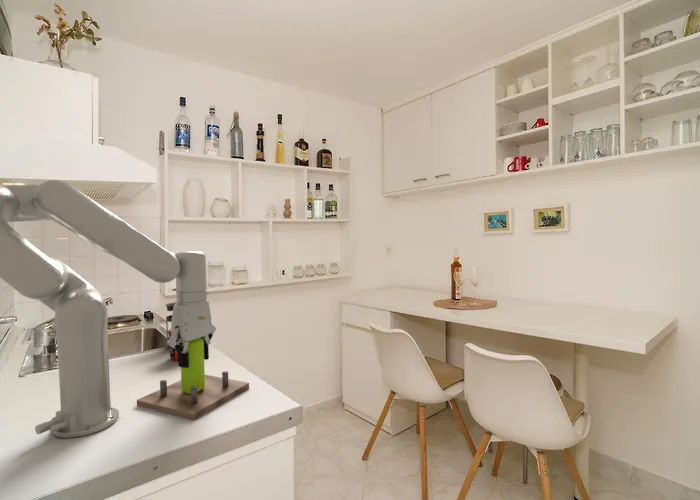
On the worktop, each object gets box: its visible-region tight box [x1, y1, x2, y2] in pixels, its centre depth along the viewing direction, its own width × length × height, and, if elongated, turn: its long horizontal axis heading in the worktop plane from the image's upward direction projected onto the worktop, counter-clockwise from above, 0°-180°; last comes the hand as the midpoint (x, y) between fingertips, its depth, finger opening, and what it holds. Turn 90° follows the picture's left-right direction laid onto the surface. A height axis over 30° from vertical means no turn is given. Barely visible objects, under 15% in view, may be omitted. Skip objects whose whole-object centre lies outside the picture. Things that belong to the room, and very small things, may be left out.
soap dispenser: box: [180, 316, 207, 393], centre depth 101 cm, size 6×7×20 cm
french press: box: [165, 288, 177, 350], centre depth 149 cm, size 12×9×23 cm
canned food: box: [168, 327, 178, 362], centre depth 134 cm, size 8×8×11 cm
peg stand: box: [136, 370, 250, 421], centre depth 102 cm, size 20×20×6 cm
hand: (194, 362), depth 101 cm, fingers open, 6 cm apart
